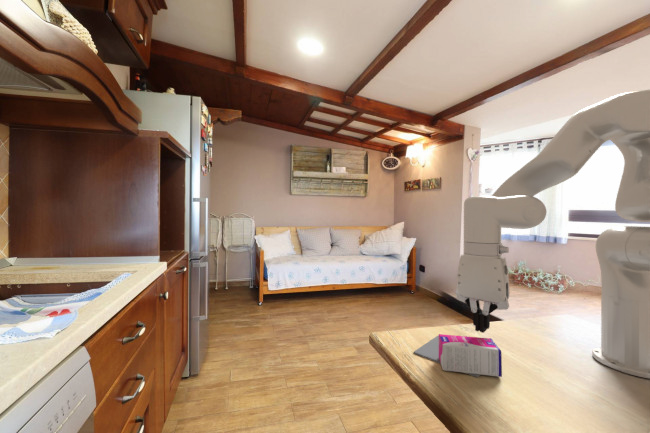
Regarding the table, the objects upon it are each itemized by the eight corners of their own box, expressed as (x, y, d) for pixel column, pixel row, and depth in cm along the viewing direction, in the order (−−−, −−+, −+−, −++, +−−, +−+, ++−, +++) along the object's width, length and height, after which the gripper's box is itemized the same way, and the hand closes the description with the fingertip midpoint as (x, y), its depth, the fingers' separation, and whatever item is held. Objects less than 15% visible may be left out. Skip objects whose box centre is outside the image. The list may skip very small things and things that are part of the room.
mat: (496, 355, 68) (496, 353, 68) (477, 377, 58) (477, 375, 58) (438, 336, 78) (438, 335, 78) (413, 353, 68) (413, 351, 68)
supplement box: (501, 349, 57) (442, 345, 60) (502, 377, 57) (443, 372, 60) (491, 336, 63) (437, 333, 65) (492, 362, 63) (438, 358, 65)
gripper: (524, 251, 61) (524, 335, 61) (454, 246, 72) (454, 317, 72) (516, 254, 56) (516, 346, 56) (442, 248, 67) (441, 325, 67)
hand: (481, 329), depth 64 cm, fingers closed
